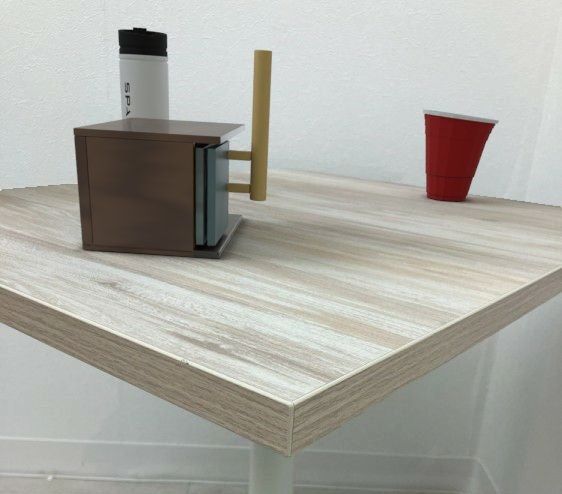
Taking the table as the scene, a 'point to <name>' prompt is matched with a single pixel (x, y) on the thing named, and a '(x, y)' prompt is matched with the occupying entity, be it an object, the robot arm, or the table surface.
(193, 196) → the brown wooden cabinet
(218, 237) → the glass door
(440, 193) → the plastic cup
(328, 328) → the table surface
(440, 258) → the table surface
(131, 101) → the travel mug
